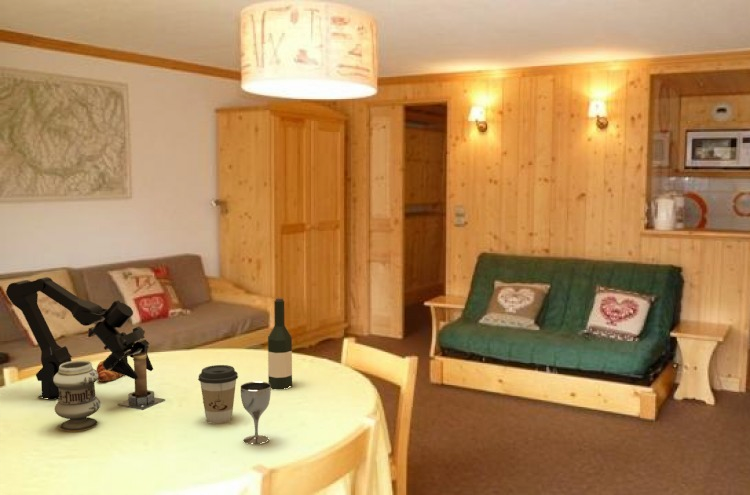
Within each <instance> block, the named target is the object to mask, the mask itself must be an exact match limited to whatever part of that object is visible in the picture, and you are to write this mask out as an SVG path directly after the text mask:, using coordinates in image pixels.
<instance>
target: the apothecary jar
mask: <svg viewBox="0 0 750 495" xmlns="http://www.w3.org/2000/svg"><path fill="white" fill-rule="evenodd" d="M96 370H97V369H95V368H93V364H92V361H90V360H72V361H71V362H66V363H63V364H61V365H60V366H59V371H58V373H57V374H56V375H55V376H54V379H53V381H54V384H55V385H56V386H58V389H59V398H58V401H57V403H55V406H54V412H55V414H56V415H57V416H58V417H61V418H62V419H66V420H65V421H63V422H62V423H61V424H60V427H59V428H60V430H61V431H63V432H68V433H69V432H70V433H71V432H72V433H73V432H75V433H76V432H77V433H78V432H82V431H86V430H87V431H88V430H90V429H92V428H94V427H95V426H97V425H98V421H97V419H95V418H92V417H90V416H92V415H93V414H96V412H98V411H99V410H100V408H101V404H102V402H101V400H100V399H99V398H98V397H97V396H96V387H95V383H96V382H97V381H98V380H99V379H98V377H99V374H98V372H97V371H96Z"/></svg>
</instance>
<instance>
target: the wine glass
mask: <svg viewBox="0 0 750 495" xmlns="http://www.w3.org/2000/svg"><path fill="white" fill-rule="evenodd" d="M271 391H272V389H271V385H270V384H269V382H267V381H249V382H245V383H243V384H241V385H240V398H241V403H242V406H243V408H244V410H246V412H247V413H248V414H249V415H250V416H251V418H252V421H253V424H254V434H253V435H249V436H247V437H245V438H244V439H243V441H244V442H245V443H248V444H260V443H262V442H266V441H267V440H269V439H268V437H269V436H267V435H264V436H263V434H259V421H260V418H261V416H262V415H263V413H264V412H265V411H266V410H267V408H268V407H269V404H270V401H271V393H272V392H271ZM266 436H267V437H266ZM243 441H242V442H243ZM244 442H243V443H244ZM245 443H244V444H245ZM248 444H247V445H248Z"/></svg>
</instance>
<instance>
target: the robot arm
mask: <svg viewBox="0 0 750 495" xmlns="http://www.w3.org/2000/svg"><path fill="white" fill-rule="evenodd" d="M39 292H41V293H42V294H44V295H45V296H46V297H48V298H49V299H51V300H53V302H56V303H57V304H59V305H60V306H62V307H64V308H65V309H66V310H68V311H69V312H70V313H71V315H72V317H73V318H74V319H75V320H76V321H77V322H78V323H79V324H80V325H82V326H84V327H85V326H86V327H87V326H90V325H91V327H89V328H88V332H87V333H88V335H87V337H88V338H92V337H94V336H96V337H97V338H98V339H99V340H100V341H101V343H102V344H104V347H103V349H104V350H105V351H106V350H108V351H110V352H111V353H110V354H109V355H108V356H107V357H106V358H105V359H103V360H104V362H103V367H104V368H105V369H106V370H107V371H108V370H110V369H111V370H110V371H111V372H112V371H114V372H117V373H120V374H123V375H122V376H125V377H127V378H130V379H133V380H135V379H137V378H138V376H137V374H136V373H135V371H134V368H133V367H132V366H131V365H130V363H129V361H128V357H130V358H132V360H133V361H134V359H133V355H134V354H136V353H146V356H147V357H146V370H148V371H150V372H152V371H153V370H154V366H153V365H152V362H151V360H150V357H149V354H148V349H149V346H150V343H149V341H148V340H147V339H145V336H144V335H145V333H146V331H145V330H144V329H143V328H142V327H141V326H136V327H134V328H132V332H130V333H127V334H126V332H120V331H119V330H118V329H120V328H122V327H123V326H124V325H125V324H126V323H127V322H128V321H129V319H131V318H132V317H133V315H134V311H133V309H132V308H131V307H130V306H129V305H128V304H125V303H124V302H121V301H120V300H119V299H118V300H114V301H113V303H111V306H109V308H104V307H102V306H101V305H99V304H97V303H95V302H92V301H89V300H85V299H81V298H80V297H79V296H76V294H73V292H71V291H69V290H67V289H66V288H64V287H63V286H61V285H60V284H58V283H57V282H55V281H53V279H52V278H51V277H47V276H45V277H40V278H37V279H36V280H32V281H31V280H29V279H25V280H24V279H23V280H20V281H16V282H11V283H10V284H8V286H7V288H6V290H5V293H6V296H7V298H8V299H9V301H10V302H11V304H12V305H13V306H15V307H16V308H17V309H18V310H20V311H21V313H22V314H23V316H24V318H25V321H26V323H27V325H28V326H29V328H30V331H31V333H32V335H33V337H34V339H35V341H36V343H37V345H38V347H39V349H40V351H41V354H40V362H41V365H42V367H41V369H40V370H38V372H36V374H35V377H36V379H37V381H38V382H41V394H39V395H38V398H39V397H43V398H42V399H44V398H48V399H47V400H49V399H54V400H56V399H55V398H57V399H59V389H58V386H56V385H55V384H54V381H53V379H54V376H55V375H56V374H57V373H58V371H59V366H60V365H61V364H63V363H66V362H71V361H73V360H72V358H73V356H72V355H71V354H70V351H69V349H68V347H67V346H66V345H65V346H63V347H61V346H60V345H59V344H58V342H56V339H55V337H54V335H53V333H52V331H51V329H50V328H49V325H48V322H46V319H45V317H44V315H43V312H42V311H41V309H40V307H39V306H38V298H39V294H38V293H39ZM93 324H95V325H94V326H92V325H93Z"/></svg>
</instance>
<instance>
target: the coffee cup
mask: <svg viewBox="0 0 750 495" xmlns="http://www.w3.org/2000/svg"><path fill="white" fill-rule="evenodd" d="M238 378H239V375H238V372H237V371H235V368H234V366H232V365H228V364H215V365H208V366H206V367H203V368H202V369H201V373H199V375H198V379H197V380H198V381H199V384H200V388H201V395H202V402H203V409H204V416H205V418H206V421H207V422H208V423H210V424H214V425H215V424H217V425H218V424H226V423H228V422H230V421H232V417H233V410H234V403H235V402H234V401H235V393H236V392H235V391H236V386H237V385H236V384H237V379H238Z"/></svg>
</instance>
